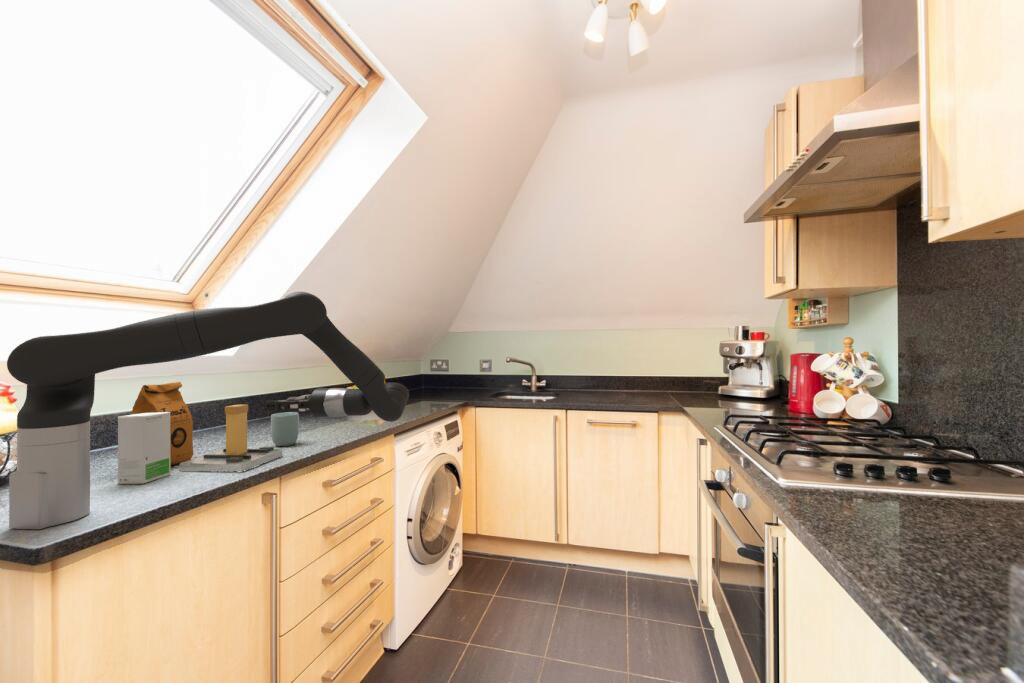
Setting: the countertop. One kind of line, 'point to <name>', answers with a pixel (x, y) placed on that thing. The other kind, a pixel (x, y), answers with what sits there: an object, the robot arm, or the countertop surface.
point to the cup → (284, 428)
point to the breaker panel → (231, 460)
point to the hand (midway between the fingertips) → (275, 403)
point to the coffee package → (180, 416)
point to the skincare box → (143, 447)
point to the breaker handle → (236, 429)
